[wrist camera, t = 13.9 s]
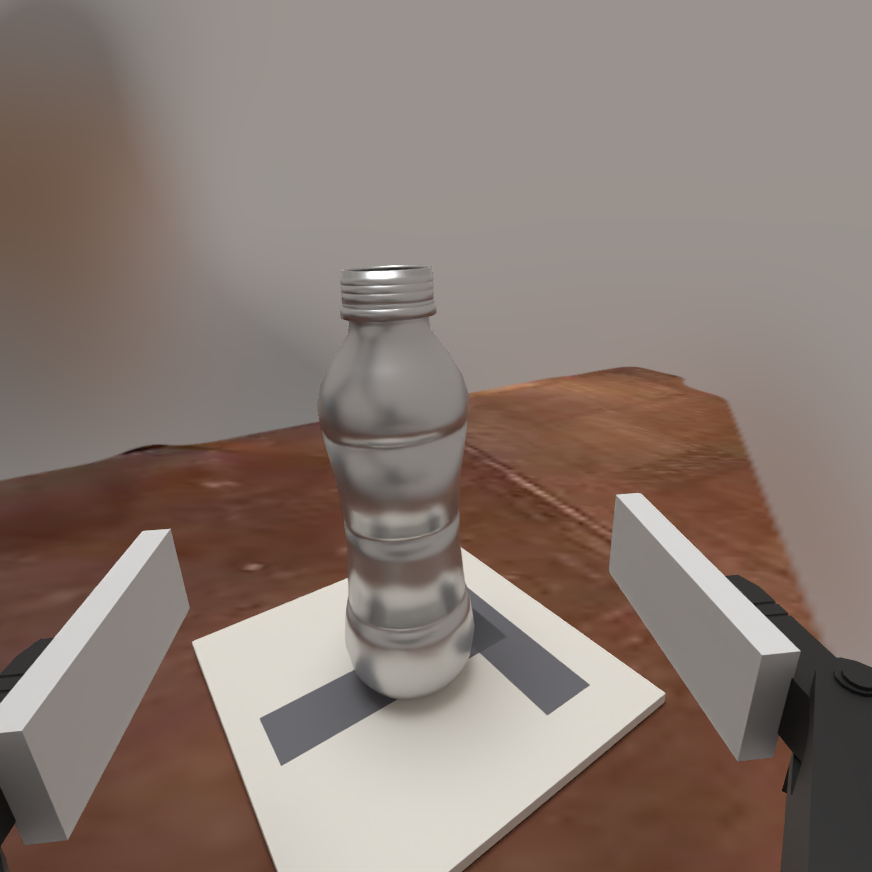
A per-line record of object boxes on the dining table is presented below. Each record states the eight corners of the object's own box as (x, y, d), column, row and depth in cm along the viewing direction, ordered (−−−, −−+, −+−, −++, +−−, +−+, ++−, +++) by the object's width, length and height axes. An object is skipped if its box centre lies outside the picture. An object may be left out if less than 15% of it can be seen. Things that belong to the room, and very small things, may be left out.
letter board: (193, 650, 30) (191, 641, 30) (447, 544, 40) (447, 537, 40) (320, 989, 16) (317, 978, 16) (664, 702, 26) (665, 693, 26)
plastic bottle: (498, 652, 28) (502, 263, 21) (422, 746, 23) (394, 275, 16) (405, 609, 32) (382, 263, 25) (321, 682, 27) (263, 273, 20)
